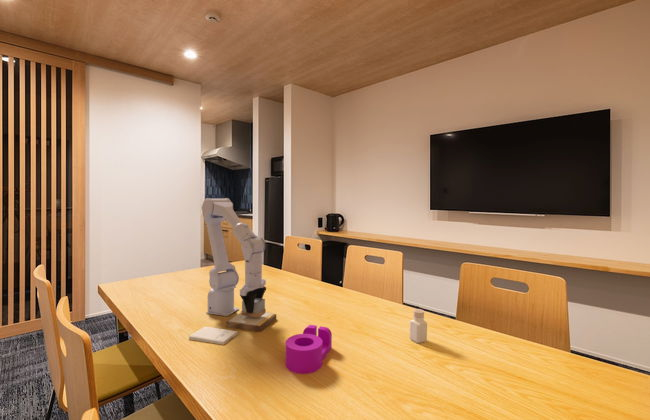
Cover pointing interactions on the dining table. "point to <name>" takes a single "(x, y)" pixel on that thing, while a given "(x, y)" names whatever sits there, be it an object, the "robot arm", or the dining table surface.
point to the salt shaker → (418, 327)
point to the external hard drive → (213, 335)
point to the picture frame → (251, 322)
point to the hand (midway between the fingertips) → (253, 310)
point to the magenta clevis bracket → (308, 349)
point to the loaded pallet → (255, 308)
